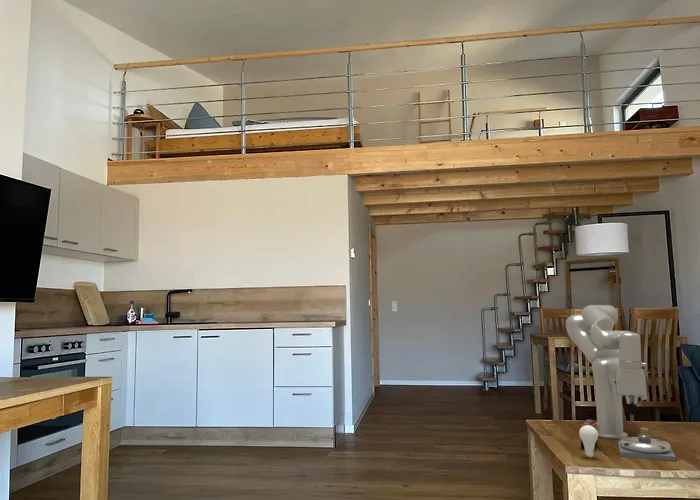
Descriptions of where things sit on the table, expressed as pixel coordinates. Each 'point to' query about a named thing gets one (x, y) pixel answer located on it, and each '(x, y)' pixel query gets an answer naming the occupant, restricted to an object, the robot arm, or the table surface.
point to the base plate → (646, 454)
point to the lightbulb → (588, 439)
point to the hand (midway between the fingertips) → (632, 414)
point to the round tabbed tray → (645, 443)
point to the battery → (592, 426)
